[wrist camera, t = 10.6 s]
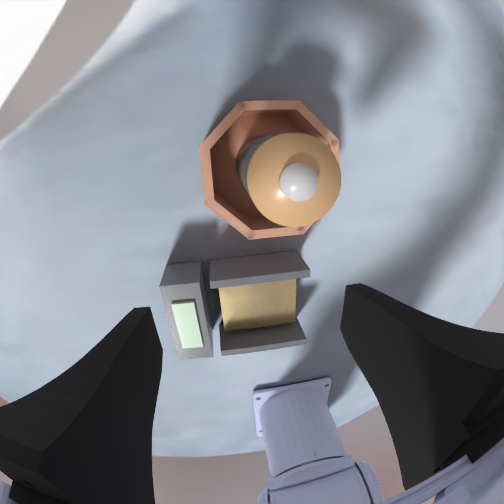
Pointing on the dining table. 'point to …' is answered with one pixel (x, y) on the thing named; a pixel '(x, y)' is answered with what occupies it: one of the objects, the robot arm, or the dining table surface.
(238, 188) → the cup
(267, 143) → the cell
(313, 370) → the dining table surface
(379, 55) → the dining table surface
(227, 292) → the plunger
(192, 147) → the dining table surface
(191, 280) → the battery checker
